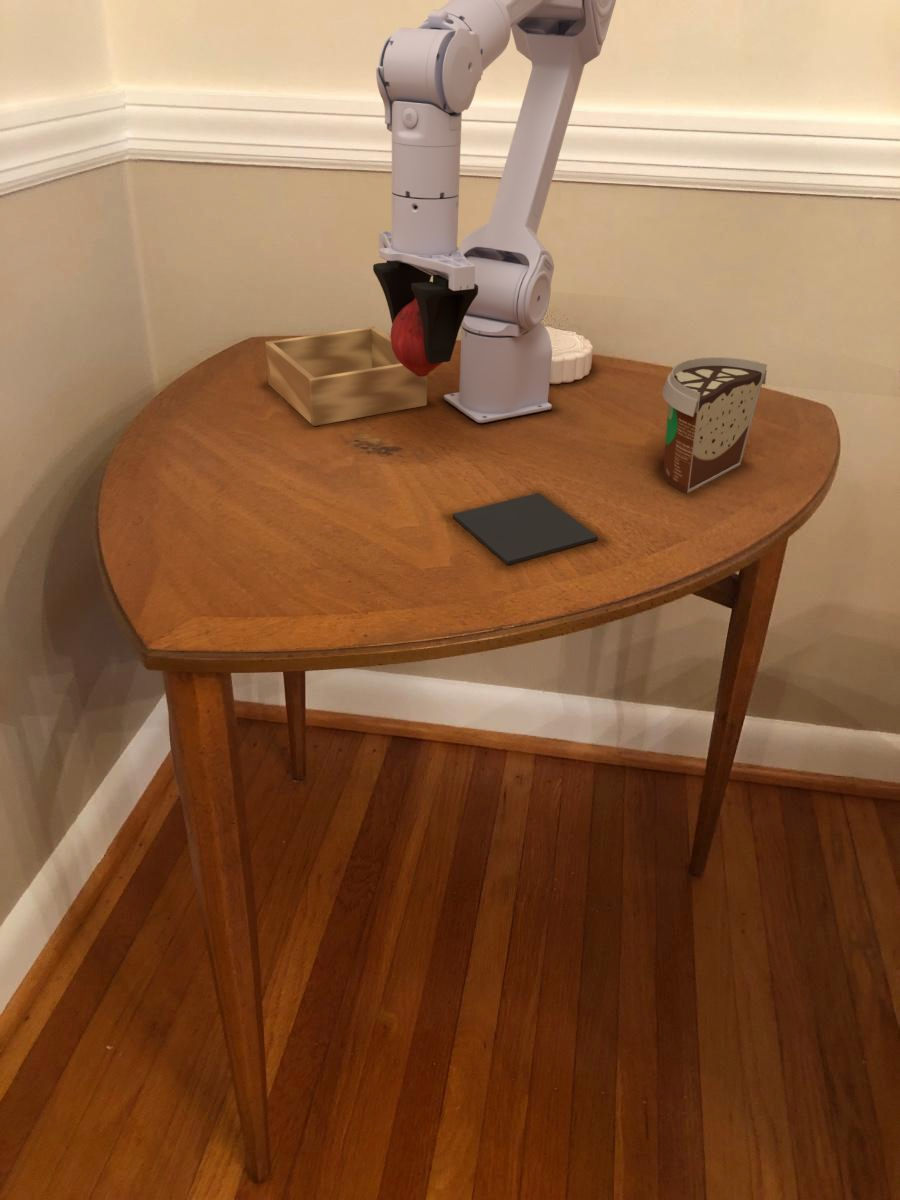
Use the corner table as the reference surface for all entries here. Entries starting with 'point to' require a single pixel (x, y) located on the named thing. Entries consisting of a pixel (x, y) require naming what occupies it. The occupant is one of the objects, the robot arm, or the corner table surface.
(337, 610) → the corner table surface
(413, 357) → the onion
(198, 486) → the corner table surface
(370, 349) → the wooden box
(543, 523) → the mat
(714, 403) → the food container
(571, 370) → the mooncake
